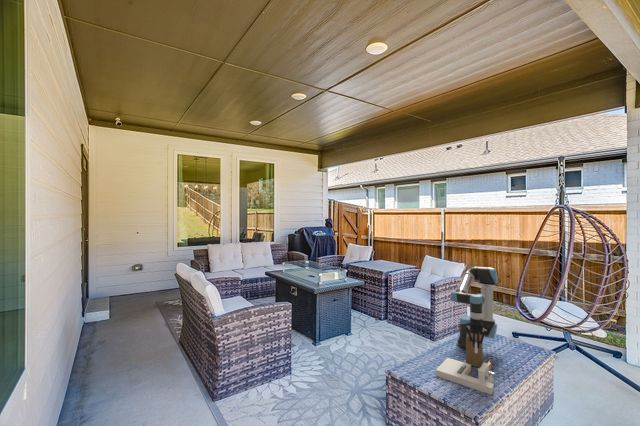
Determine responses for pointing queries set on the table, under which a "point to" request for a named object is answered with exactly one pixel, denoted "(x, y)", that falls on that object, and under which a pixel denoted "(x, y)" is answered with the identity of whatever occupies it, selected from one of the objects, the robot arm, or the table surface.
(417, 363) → the table surface
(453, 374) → the stand
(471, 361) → the wooden block
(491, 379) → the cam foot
